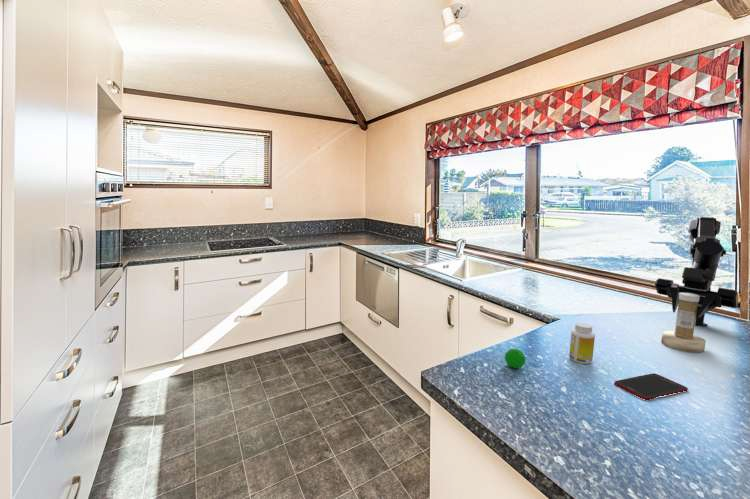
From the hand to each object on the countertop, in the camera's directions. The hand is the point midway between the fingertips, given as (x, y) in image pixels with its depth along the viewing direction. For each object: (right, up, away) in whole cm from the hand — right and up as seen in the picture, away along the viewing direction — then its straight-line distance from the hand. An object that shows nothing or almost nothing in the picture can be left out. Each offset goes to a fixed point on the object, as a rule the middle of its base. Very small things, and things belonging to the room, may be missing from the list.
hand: (685, 314), depth 104 cm
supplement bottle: (-37, -11, -8) cm, 39 cm away
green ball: (-57, -12, -13) cm, 59 cm away
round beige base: (+1, -10, +2) cm, 11 cm away
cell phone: (-28, -14, -22) cm, 38 cm away
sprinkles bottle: (+1, -7, +2) cm, 8 cm away
